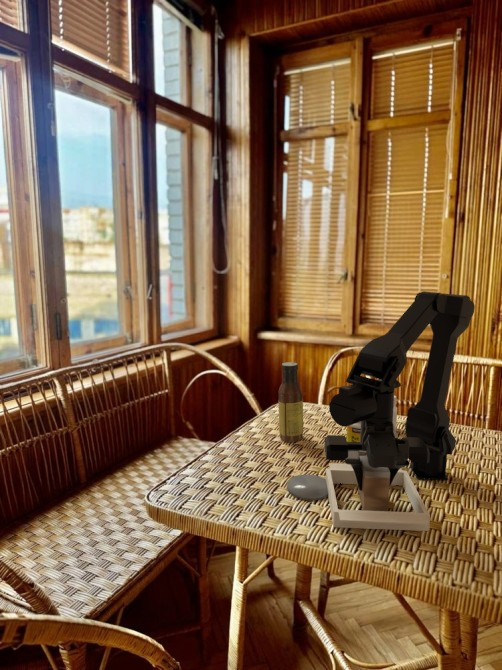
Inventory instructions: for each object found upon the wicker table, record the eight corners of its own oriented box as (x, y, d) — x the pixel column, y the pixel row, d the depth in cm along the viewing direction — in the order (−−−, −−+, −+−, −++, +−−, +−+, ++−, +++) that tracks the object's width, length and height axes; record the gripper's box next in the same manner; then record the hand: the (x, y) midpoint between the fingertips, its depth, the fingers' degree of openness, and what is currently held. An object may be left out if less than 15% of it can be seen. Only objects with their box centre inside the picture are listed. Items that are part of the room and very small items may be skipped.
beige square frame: (402, 478, 102) (403, 465, 101) (433, 539, 81) (434, 523, 80) (324, 475, 103) (325, 462, 103) (334, 535, 82) (335, 519, 82)
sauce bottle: (307, 436, 124) (308, 362, 120) (296, 445, 119) (297, 368, 115) (285, 431, 127) (286, 359, 124) (273, 439, 122) (274, 364, 118)
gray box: (381, 493, 95) (383, 456, 93) (387, 511, 89) (390, 472, 87) (358, 493, 95) (359, 455, 94) (363, 511, 89) (365, 471, 87)
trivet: (329, 478, 102) (329, 475, 102) (333, 501, 93) (333, 497, 93) (286, 477, 102) (287, 473, 102) (287, 499, 94) (287, 495, 94)
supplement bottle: (347, 458, 111) (349, 417, 109) (344, 448, 117) (345, 408, 115) (371, 458, 111) (373, 417, 109) (367, 448, 117) (369, 409, 115)
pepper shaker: (395, 433, 126) (397, 399, 124) (380, 431, 127) (381, 397, 125) (396, 427, 130) (398, 394, 128) (380, 426, 131) (382, 393, 129)
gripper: (330, 428, 81) (327, 511, 84) (442, 431, 80) (435, 515, 83) (325, 406, 92) (323, 480, 95) (423, 408, 91) (418, 483, 94)
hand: (373, 490), depth 91 cm, fingers closed on gray box, 4 cm apart
